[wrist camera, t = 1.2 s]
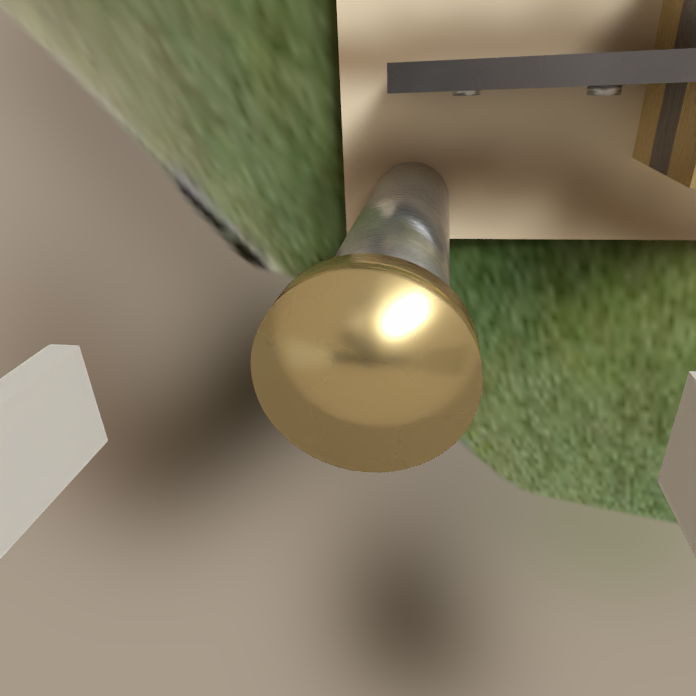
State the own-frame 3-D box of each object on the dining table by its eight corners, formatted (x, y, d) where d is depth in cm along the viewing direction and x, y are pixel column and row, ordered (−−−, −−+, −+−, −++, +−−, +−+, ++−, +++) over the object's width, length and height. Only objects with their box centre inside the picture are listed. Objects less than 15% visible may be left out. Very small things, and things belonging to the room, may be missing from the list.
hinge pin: (358, 148, 27) (235, 269, 12) (466, 145, 27) (492, 273, 11) (361, 250, 30) (264, 464, 14) (460, 251, 29) (474, 480, 13)
